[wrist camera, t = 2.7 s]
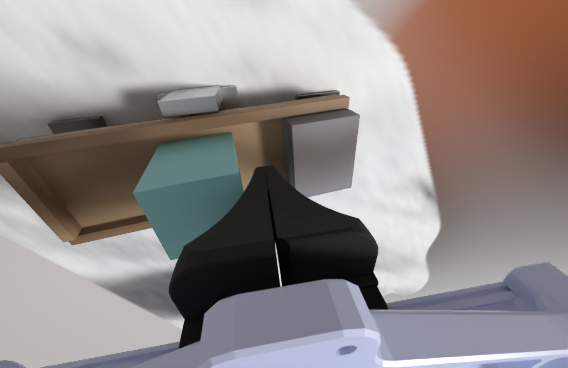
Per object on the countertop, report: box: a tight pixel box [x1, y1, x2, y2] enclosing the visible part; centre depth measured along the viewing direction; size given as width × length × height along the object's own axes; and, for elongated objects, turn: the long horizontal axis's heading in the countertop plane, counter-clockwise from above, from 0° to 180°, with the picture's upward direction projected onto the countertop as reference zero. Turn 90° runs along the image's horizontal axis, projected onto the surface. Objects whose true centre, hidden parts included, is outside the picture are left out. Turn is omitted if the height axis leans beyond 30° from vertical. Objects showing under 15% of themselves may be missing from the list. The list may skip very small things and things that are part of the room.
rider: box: [133, 132, 244, 260], centre depth 12 cm, size 4×4×5 cm
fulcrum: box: [48, 86, 340, 134], centre depth 15 cm, size 8×19×3 cm, turn 94°
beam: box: [0, 95, 360, 245], centre depth 14 cm, size 6×18×4 cm, turn 94°
